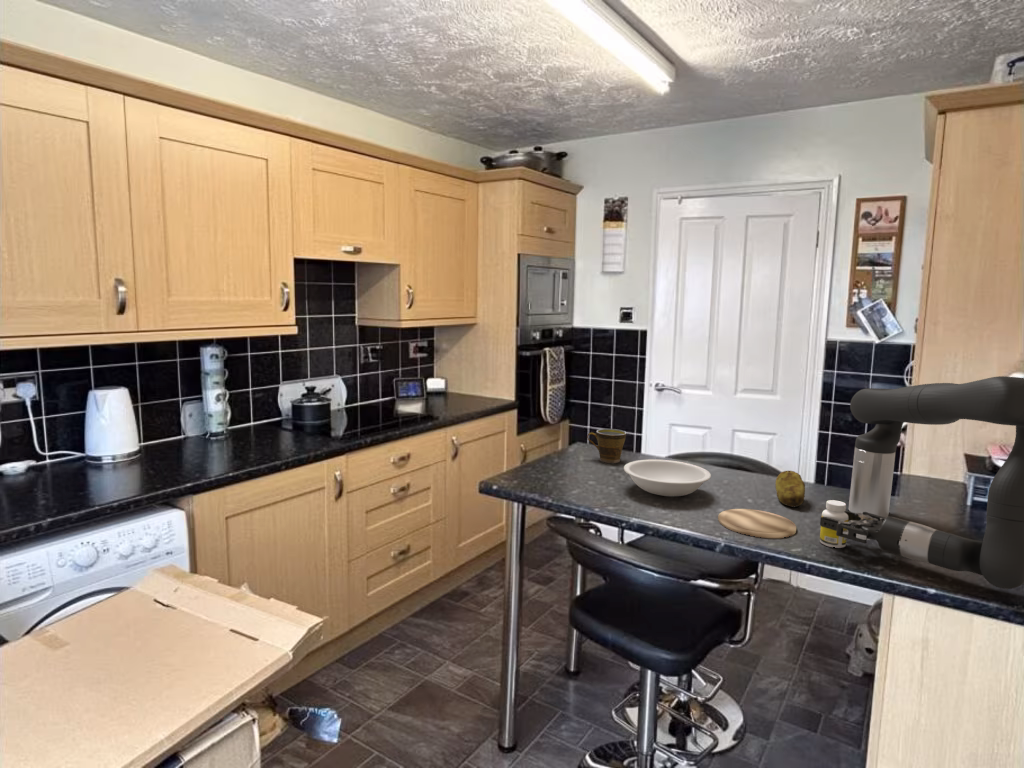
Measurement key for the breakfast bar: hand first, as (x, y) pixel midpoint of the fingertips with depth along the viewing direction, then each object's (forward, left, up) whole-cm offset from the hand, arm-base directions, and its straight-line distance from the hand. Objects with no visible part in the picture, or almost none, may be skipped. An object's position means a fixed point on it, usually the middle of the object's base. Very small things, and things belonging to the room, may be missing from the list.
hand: (829, 517), depth 142 cm
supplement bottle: (0, +1, -6) cm, 6 cm away
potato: (-21, -20, -6) cm, 29 cm away
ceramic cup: (-11, -79, -6) cm, 80 cm away
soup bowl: (+1, -45, -6) cm, 45 cm away
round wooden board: (+3, -16, -6) cm, 17 cm away
